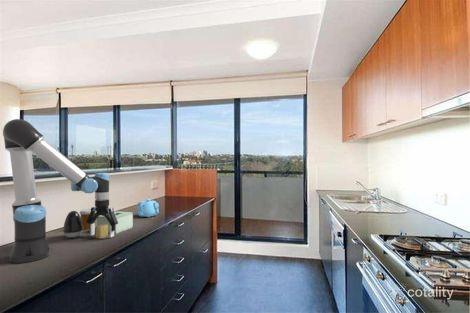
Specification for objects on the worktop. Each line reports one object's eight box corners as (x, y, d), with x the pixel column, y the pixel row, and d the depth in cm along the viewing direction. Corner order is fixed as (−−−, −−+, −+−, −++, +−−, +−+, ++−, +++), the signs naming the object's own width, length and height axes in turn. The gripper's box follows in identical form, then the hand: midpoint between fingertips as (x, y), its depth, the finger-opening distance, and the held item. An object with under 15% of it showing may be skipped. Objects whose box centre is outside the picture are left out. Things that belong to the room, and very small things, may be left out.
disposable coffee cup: (94, 229, 177) (94, 211, 177) (77, 230, 174) (77, 211, 175) (97, 226, 186) (97, 208, 186) (81, 227, 184) (81, 209, 184)
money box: (116, 233, 167) (115, 217, 167) (97, 232, 171) (97, 216, 171) (132, 227, 182) (132, 212, 182) (115, 226, 186) (115, 211, 186)
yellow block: (100, 238, 157) (100, 226, 157) (96, 238, 158) (96, 226, 158) (108, 236, 163) (108, 224, 163) (103, 235, 164) (103, 223, 164)
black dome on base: (60, 240, 155) (60, 213, 155) (66, 235, 165) (66, 209, 165) (80, 238, 157) (80, 212, 158) (85, 233, 167) (85, 208, 168)
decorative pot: (159, 217, 213) (159, 200, 213) (137, 219, 208) (137, 201, 208) (157, 213, 228) (157, 197, 229) (137, 214, 223) (137, 198, 223)
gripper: (124, 199, 160) (124, 235, 160) (89, 197, 167) (89, 232, 167) (115, 201, 153) (115, 239, 153) (79, 199, 160) (79, 235, 160)
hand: (102, 235), depth 160 cm, fingers open, 13 cm apart
